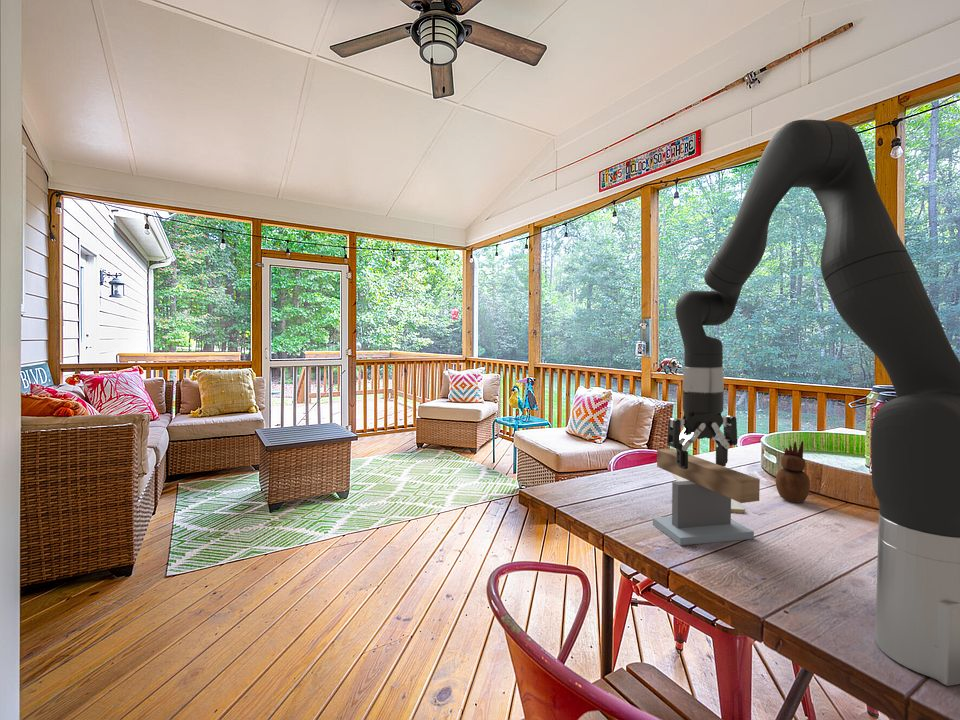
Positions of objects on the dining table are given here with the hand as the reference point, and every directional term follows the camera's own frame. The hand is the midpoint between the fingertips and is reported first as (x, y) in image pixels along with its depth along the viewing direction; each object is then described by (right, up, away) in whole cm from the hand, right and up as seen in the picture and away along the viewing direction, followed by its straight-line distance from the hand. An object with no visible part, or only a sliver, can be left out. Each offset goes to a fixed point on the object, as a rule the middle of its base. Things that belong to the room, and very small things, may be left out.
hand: (701, 466), depth 93 cm
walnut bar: (0, -3, 0) cm, 3 cm away
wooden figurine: (+31, -13, +18) cm, 38 cm away
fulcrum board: (0, -14, +1) cm, 14 cm away
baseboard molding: (+12, -13, +27) cm, 32 cm away
